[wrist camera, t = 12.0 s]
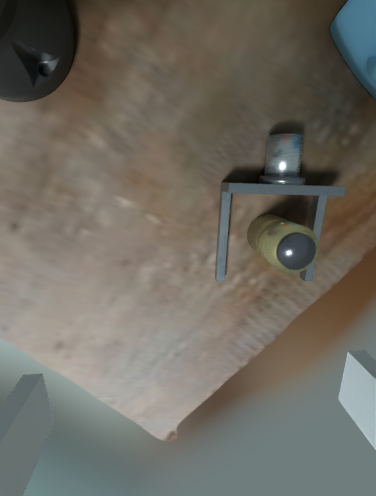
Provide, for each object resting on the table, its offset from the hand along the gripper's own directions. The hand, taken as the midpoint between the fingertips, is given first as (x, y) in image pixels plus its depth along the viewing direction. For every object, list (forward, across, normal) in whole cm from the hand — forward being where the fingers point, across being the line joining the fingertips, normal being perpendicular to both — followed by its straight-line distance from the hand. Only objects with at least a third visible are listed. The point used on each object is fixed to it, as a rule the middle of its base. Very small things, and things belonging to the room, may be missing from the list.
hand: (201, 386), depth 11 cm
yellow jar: (+28, +14, -1) cm, 31 cm away
